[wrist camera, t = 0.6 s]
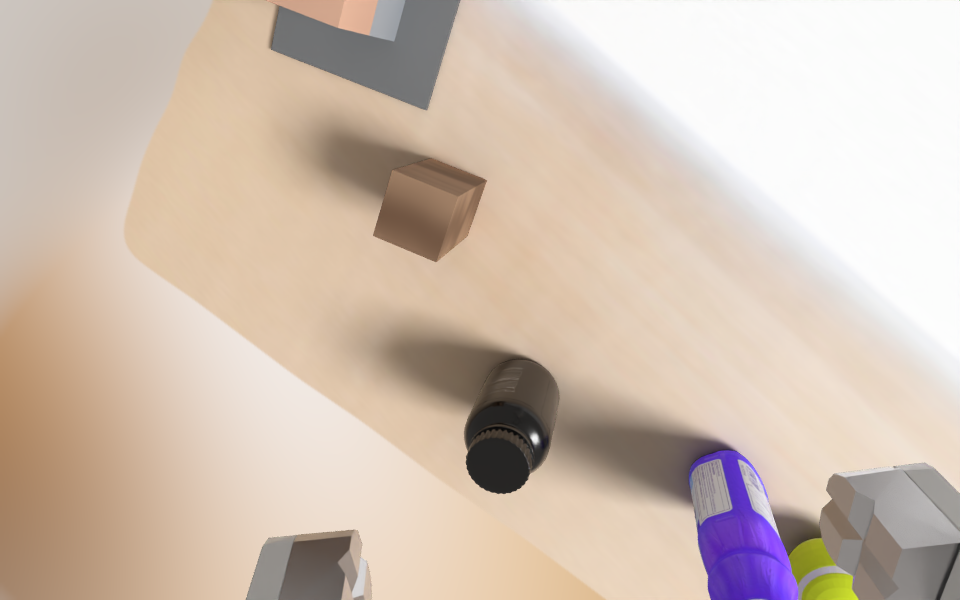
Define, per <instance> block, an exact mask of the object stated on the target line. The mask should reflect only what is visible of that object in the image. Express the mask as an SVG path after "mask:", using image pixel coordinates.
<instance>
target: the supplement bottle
mask: <svg viewBox="0 0 960 600" xmlns="http://www.w3.org/2000/svg"><path fill="white" fill-rule="evenodd" d="M558 404H559V390H558V386H557V384H556V382H555V380H554V378H553V376H552V375H551V374H550V373H549V372H548V371H547V370H546V369H545V368H544V367H542V366H541V365H539V364H537V363H535V362H532V361H529V360H523V359H514V360H509V361H506V362H504V363H502V364H500V365H498V366H497V367H495V368H494V369H493V370H492V371H491V373H490V374H489V376H488V377H487V379H486V381H485V383H484V385H483V387H482V389H481V392H480V394H479V396H478V398H477V400H476V402H475V404H474V406H473V409H472V411H471V413H470V415H469V417H468V419H467V422H466V425H465V430H464V440H465V445H466V448H467V450H468V453H467V456H466V459H467V460H466V465H467V470H468V473H469V475H470V476H471V478H472V479H473V480H474V481H475V483H476V484H478V485H479V486H480V487H481V488H484V489H485V490H486V491H490V492H492V493H497V494H500V493H502V494H506V493H511V492H513V491H516V490H517V489H520V488H521V487H522V486H523V485H524V484H525V482H526V481H527V480H528V478H529V475H530V473H532V472H534V471H535V470H537V469H538V468H539V467H540V466H541V465H542V464H543V462H544V461H545V459H546V457H547V455H548V452H549V449H550V445H551V440H552V435H553V430H554V425H555V420H556V415H557V410H558Z"/></svg>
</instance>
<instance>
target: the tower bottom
mask: <svg viewBox="0 0 960 600" xmlns="http://www.w3.org/2000/svg"><path fill="white" fill-rule="evenodd" d="M404 4H405V0H378V3H377V7H376V11H375V15H374V19H373V22H372V26H371V30H370V34H369V36H373V37H377V38H381V39H385V40H390V41H395V37H396V34H397V30H398V26H399V22H400V19H401V15H402V11H403V8H404Z"/></svg>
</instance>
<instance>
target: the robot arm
mask: <svg viewBox="0 0 960 600" xmlns="http://www.w3.org/2000/svg"><path fill="white" fill-rule="evenodd" d="M826 491H827V492H828V494H829V495H830V496H831V498H832V500H831V501H830V502H829V503H828V504H827V505H825V506H824V507H823V508H822V510H821V516H820V522H819V525H820V530H821V536H822V540H823V543H824V545H825V547H826V550H827V552H828V554H829V555H830V557H831V558H832V560H833V561H834V563H835V564H836V566H838V567H839V568H841V569H843V570H844V571H846V572H847V573H849V574H851V575H852V576H853V583H852V590H853V592H854V593H855V595H856V596H857V598H858V599H859V600H960V493H959V492H958V491H957V490H956V489H955V488H954V487H953V486H952V485H951V484H950V483H949V482H948V481H947V480H946V479H945V478H944V477H943V476H942V475H941V474H940V473H939V472H938V471H937V470H936V469H935V468H933V467H932V466H930V465H928V464H926V463H918V464H909V465H901V466H894V467H882V468H874V469H866V470H859V471H851V472H843V473H835V474H833V476H832V477H831V478H830V479H829V481H828V485H827V489H826ZM361 548H362V542H361V539H360V536H359V532H358V531H357V530H346V531H335V532H323V533H312V534H301V535H294V536H284V537H274V538H268V540H267V541H266V542H265V544H264V545H263V547H262V550H261V553H260V556H259V559H258V563H257V565H256V569H255V572H254V575H253V578H252V582H251V585H250V588H249V591H248V594H247V598H246V600H372V584H371V577H370V571H369V567H368V563H367V561H366V560H364V559H363V558H361V557H360V556H361Z"/></svg>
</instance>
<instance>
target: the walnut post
mask: <svg viewBox="0 0 960 600" xmlns="http://www.w3.org/2000/svg"><path fill="white" fill-rule="evenodd" d="M486 182H487V180H485V179H482V178H480V177H477V176H475V175H472V174H470V173H467V172H465V171H462V170H460V169H457V168H455V167H452V166H450V165H447V164H445V163H442V162H440V161H437V160H435V159H432V158H430V159H427V160H424V161H420V162H417V163H414V164H410V165H407V166H403V167H400V168H397V169H393V170H392V172H391V176H390V179H389V182H388V186H387V189H386V193H385V196H384V200H383V203H382V207H381V210H380V213H379V217H378V220H377V224H376V227H375V231H374V234H373V236H375V237H377V238H380V239H382V240H384V241H387V242H389V243H392V244H394V245H396V246H399V247H401V248H404V249H406V250H408V251H411V252H413V253H415V254H418V255H420V256H423V257H425V258H427V259H430V260H432V261H435V262H437V261H438V260H439V259H441V258H442V257H443V256H444V255H445V254H447V253H448V252H449V251H450V250H451V249H453V248H454V247H455V246H456V245H457V244H458V243H460V242H461V241H462V240H463V239H464V238H466V237H467V236H468V233H469V230H470V227H471V224H472V221H473V219H474V216H475V213H476V210H477V207H478V204H479V201H480V199H481V196H482V193H483V190H484V187H485V184H486Z"/></svg>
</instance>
